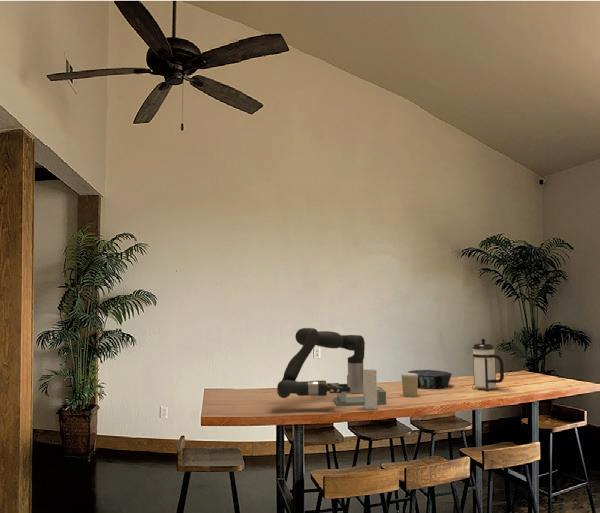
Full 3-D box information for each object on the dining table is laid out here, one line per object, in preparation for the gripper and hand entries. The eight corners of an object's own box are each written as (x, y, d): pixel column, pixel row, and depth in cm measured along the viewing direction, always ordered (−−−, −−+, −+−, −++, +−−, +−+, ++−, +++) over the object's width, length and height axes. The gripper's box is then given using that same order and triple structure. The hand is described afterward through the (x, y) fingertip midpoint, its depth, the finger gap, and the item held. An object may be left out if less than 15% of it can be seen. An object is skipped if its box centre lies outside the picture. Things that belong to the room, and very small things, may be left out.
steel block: (365, 409, 261) (364, 370, 262) (363, 407, 265) (362, 369, 266) (377, 409, 261) (376, 370, 262) (375, 407, 265) (374, 369, 267)
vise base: (336, 405, 269) (336, 391, 270) (333, 399, 284) (332, 385, 285) (386, 404, 271) (386, 389, 272) (380, 398, 286) (379, 384, 287)
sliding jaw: (340, 401, 271) (340, 390, 271) (337, 397, 284) (336, 386, 284) (346, 401, 271) (345, 390, 271) (342, 396, 284) (342, 386, 284)
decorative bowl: (421, 394, 309) (421, 377, 308) (399, 382, 335) (399, 367, 335) (459, 391, 316) (459, 374, 316) (434, 380, 342) (435, 365, 342)
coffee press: (473, 391, 304) (471, 339, 307) (470, 386, 320) (469, 337, 322) (504, 392, 300) (502, 340, 302) (500, 387, 316) (499, 337, 318)
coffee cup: (419, 394, 297) (418, 373, 298) (418, 397, 288) (417, 375, 289) (402, 393, 300) (402, 372, 301) (401, 396, 291) (400, 375, 292)
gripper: (318, 383, 255) (350, 382, 256) (315, 378, 269) (346, 377, 270) (318, 398, 255) (351, 397, 256) (315, 393, 269) (346, 392, 270)
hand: (348, 387), depth 263 cm, fingers open, 8 cm apart
